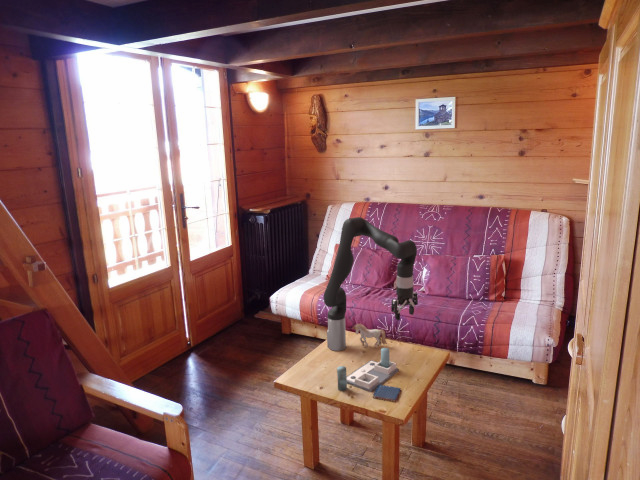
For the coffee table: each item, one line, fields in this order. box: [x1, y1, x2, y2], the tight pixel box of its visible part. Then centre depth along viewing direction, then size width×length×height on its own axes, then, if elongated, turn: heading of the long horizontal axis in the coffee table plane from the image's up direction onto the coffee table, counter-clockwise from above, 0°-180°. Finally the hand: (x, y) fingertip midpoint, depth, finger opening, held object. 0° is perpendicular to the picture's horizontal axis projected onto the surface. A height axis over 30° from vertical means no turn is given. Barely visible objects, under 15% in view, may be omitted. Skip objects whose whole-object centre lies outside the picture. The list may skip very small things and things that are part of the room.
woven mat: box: [372, 384, 402, 403], centre depth 197 cm, size 10×11×2 cm
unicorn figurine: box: [352, 323, 388, 349], centre depth 243 cm, size 7×20×13 cm, turn 99°
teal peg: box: [336, 365, 348, 392], centre depth 202 cm, size 4×4×10 cm
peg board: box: [346, 347, 400, 393], centre depth 212 cm, size 16×24×11 cm, turn 140°
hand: (404, 317), depth 208 cm, fingers open, 8 cm apart
